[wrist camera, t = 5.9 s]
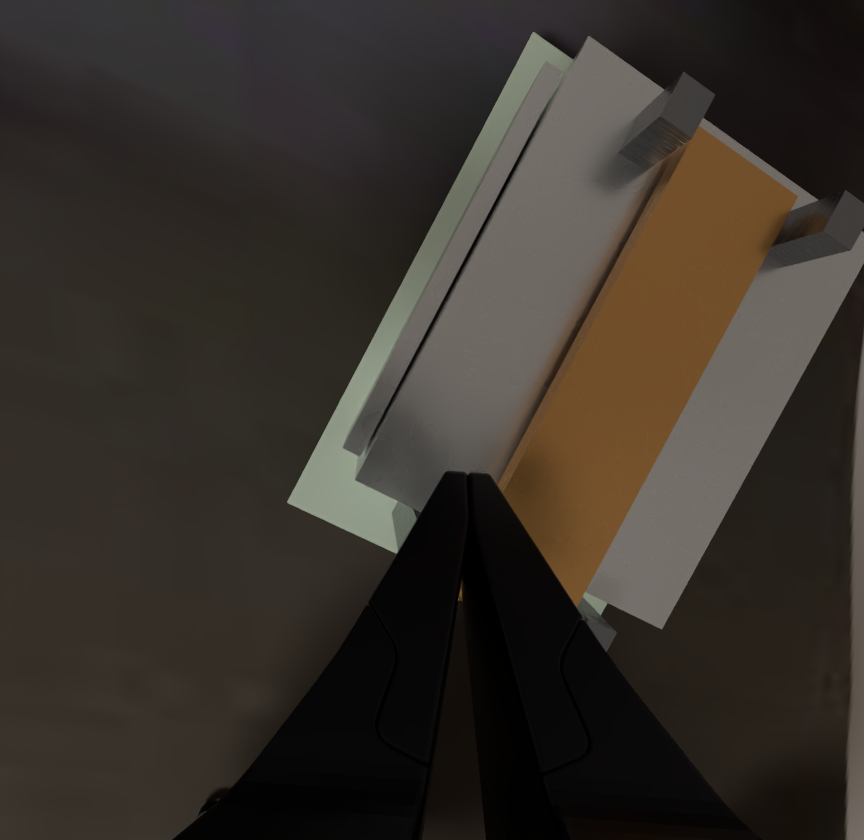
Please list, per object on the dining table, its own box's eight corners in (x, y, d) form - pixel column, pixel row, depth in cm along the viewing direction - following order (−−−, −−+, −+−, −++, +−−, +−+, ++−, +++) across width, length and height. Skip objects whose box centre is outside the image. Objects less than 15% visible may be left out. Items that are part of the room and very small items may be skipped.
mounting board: (571, 623, 22) (586, 641, 21) (293, 492, 20) (286, 502, 18) (782, 237, 22) (812, 227, 20) (520, 57, 19) (533, 31, 18)
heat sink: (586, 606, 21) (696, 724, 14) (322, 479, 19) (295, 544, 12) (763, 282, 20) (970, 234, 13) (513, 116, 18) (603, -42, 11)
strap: (543, 630, 15) (558, 652, 14) (441, 583, 14) (448, 602, 13) (770, 207, 15) (806, 193, 13) (676, 142, 14) (705, 120, 13)
